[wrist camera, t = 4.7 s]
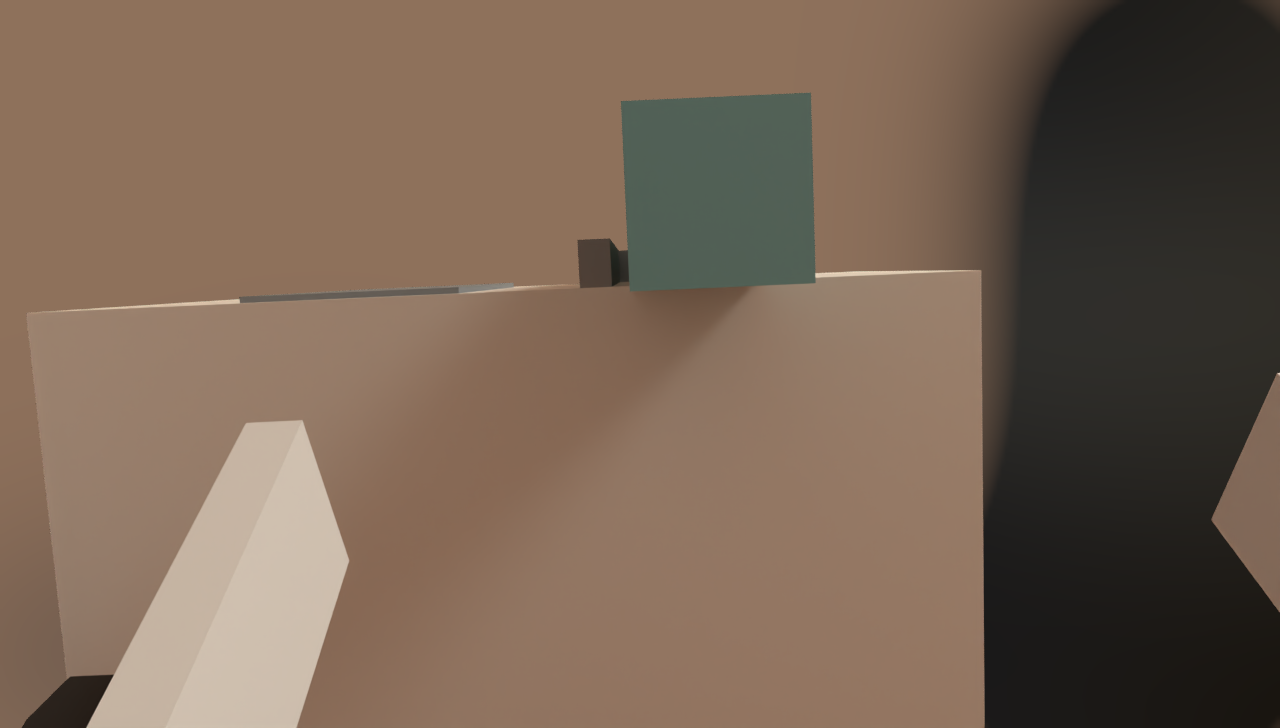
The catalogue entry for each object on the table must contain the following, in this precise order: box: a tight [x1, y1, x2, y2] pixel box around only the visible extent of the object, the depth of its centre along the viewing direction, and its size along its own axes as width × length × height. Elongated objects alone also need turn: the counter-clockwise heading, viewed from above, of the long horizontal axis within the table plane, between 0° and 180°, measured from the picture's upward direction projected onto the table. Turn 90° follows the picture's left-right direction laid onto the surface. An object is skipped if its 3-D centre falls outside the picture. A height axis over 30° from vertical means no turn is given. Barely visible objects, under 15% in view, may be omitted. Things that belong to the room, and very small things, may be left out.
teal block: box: [621, 93, 816, 292], centre depth 31 cm, size 24×4×4 cm, turn 0°
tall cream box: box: [26, 239, 984, 728], centre depth 38 cm, size 16×30×34 cm, turn 90°
